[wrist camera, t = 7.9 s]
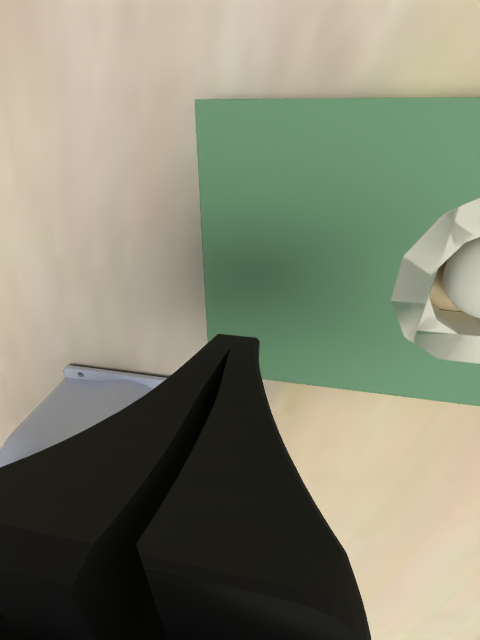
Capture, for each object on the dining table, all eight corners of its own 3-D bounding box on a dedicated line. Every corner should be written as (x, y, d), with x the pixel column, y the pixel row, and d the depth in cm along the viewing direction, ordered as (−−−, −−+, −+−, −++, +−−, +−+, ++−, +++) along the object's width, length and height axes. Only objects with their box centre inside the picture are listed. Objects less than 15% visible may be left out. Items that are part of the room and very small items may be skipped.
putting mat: (218, 349, 22) (209, 372, 20) (210, 104, 15) (194, 99, 13) (509, 381, 19) (534, 413, 17) (669, 101, 12) (746, 95, 10)
